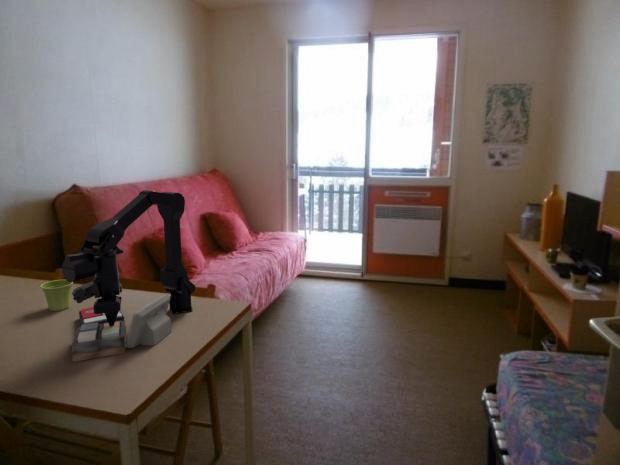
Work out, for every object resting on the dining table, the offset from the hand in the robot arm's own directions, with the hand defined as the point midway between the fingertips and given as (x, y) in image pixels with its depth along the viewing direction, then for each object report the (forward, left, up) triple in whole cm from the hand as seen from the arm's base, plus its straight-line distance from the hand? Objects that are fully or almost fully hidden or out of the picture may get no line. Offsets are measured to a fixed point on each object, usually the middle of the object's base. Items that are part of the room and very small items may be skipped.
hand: (111, 325), depth 113 cm
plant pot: (+18, -34, -4) cm, 38 cm away
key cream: (+6, +6, -1) cm, 8 cm away
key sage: (0, +6, -1) cm, 6 cm away
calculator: (+4, -14, -5) cm, 16 cm away
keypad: (+3, +3, -4) cm, 6 cm away
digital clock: (-10, +3, -4) cm, 11 cm away
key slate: (+6, 0, -1) cm, 6 cm away
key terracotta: (0, 0, -2) cm, 2 cm away
